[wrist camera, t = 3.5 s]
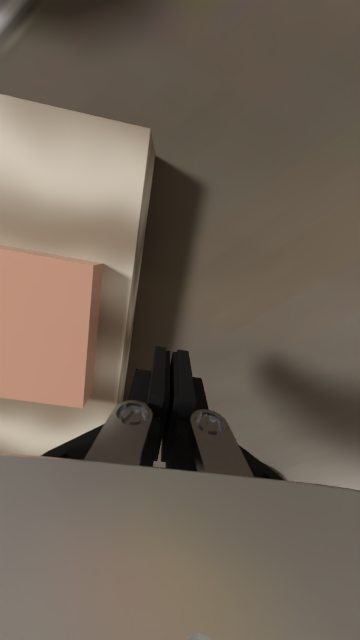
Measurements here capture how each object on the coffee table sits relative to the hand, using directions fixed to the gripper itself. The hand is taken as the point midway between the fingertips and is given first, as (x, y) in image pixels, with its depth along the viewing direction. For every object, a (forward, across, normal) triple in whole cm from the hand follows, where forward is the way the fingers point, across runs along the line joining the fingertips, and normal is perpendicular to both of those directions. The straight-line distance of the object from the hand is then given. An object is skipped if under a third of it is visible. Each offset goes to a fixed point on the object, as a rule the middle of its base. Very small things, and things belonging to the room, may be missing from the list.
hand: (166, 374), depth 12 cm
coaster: (+6, +10, +1) cm, 12 cm away
